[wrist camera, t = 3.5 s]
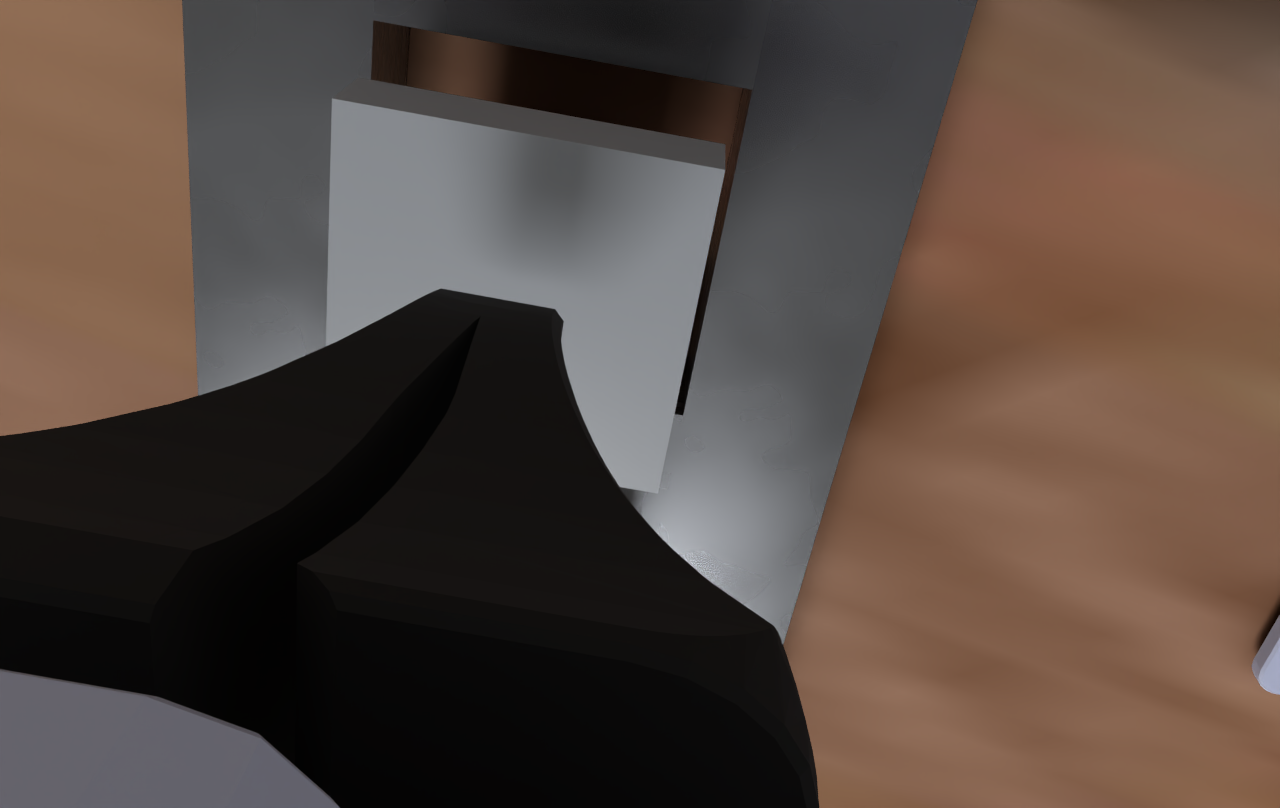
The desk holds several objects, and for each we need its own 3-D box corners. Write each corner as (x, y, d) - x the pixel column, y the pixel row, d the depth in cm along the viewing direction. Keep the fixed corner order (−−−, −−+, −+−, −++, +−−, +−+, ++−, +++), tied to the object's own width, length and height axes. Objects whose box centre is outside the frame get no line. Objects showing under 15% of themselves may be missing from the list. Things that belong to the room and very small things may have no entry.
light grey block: (725, 94, 15) (724, 170, 12) (669, 372, 17) (657, 493, 14) (408, 36, 15) (331, 98, 12) (392, 323, 17) (323, 434, 14)
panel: (1216, -959, 11) (1308, -1097, 9) (712, 803, 24) (711, 883, 22) (224, -1162, 11) (127, -1345, 9) (252, 725, 24) (214, 800, 22)
